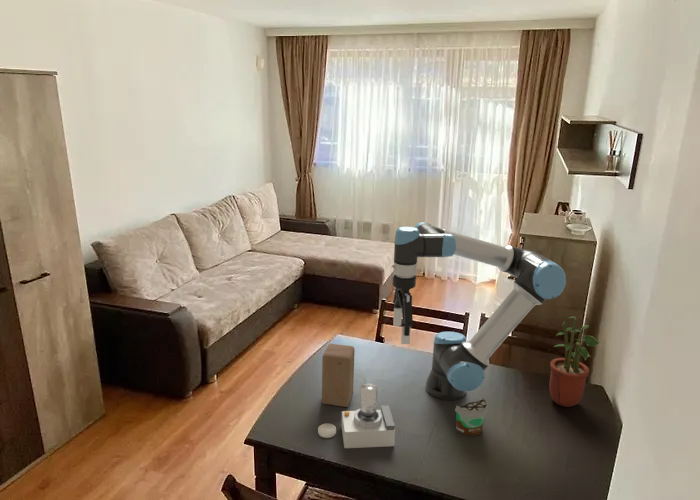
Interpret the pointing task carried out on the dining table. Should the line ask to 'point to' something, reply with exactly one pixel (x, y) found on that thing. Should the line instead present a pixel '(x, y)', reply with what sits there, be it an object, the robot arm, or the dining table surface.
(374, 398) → the grey tall rounded cylinder
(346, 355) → the wooden block
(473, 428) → the food container
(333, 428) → the rear cap
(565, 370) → the potted plant
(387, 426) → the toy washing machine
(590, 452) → the dining table surface
